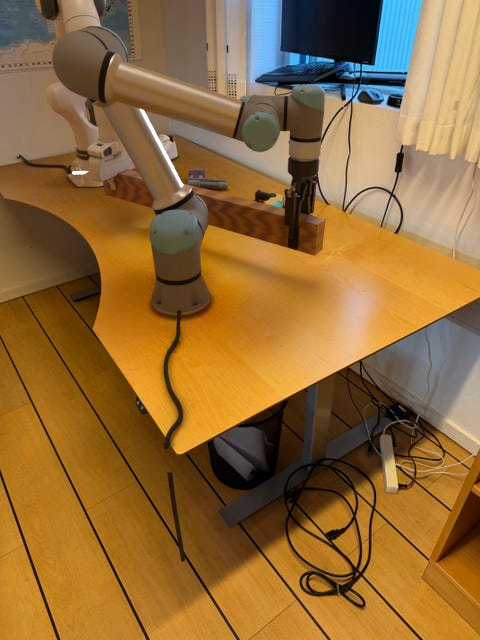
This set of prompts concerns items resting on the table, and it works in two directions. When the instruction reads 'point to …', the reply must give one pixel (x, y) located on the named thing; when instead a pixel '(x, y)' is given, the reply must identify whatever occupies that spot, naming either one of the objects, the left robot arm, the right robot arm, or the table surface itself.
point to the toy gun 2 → (270, 198)
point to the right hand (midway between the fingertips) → (297, 244)
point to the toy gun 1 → (204, 180)
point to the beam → (232, 213)
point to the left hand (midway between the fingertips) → (121, 186)
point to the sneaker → (169, 145)
